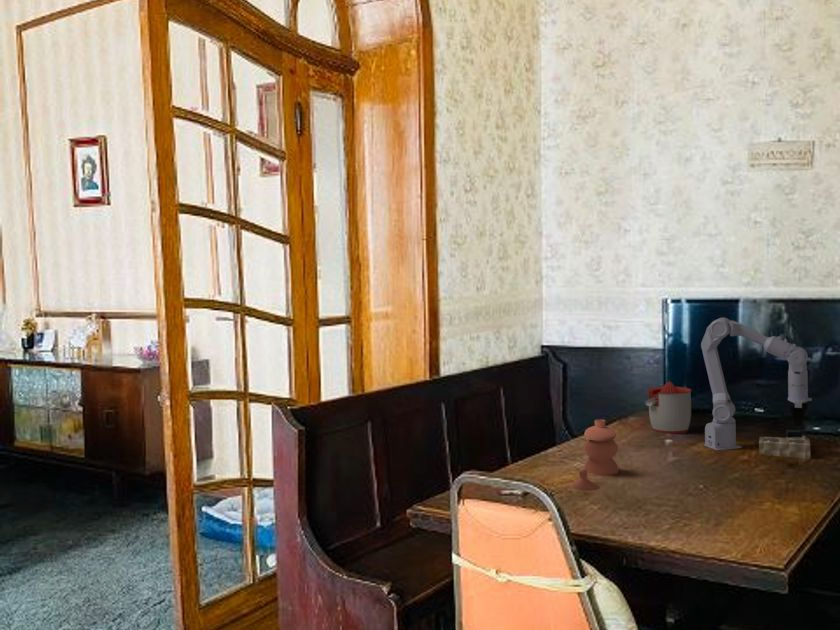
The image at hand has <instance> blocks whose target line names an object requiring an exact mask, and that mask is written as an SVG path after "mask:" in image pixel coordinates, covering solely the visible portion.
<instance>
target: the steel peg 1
mask: <svg viewBox="0 0 840 630" xmlns="http://www.w3.org/2000/svg"><path fill="white" fill-rule="evenodd" d="M765 441H771V442H778V440H777V439H765Z"/></svg>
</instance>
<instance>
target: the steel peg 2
mask: <svg viewBox="0 0 840 630" xmlns="http://www.w3.org/2000/svg"><path fill="white" fill-rule="evenodd" d="M790 443H804V441H800V440H791V441H790Z"/></svg>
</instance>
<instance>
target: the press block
mask: <svg viewBox="0 0 840 630" xmlns="http://www.w3.org/2000/svg"><path fill="white" fill-rule="evenodd" d="M765 439H777V440H778V442H771V441H765ZM791 440H800V441H804V443H790V441H791ZM810 440H811V439H809V438H808V439H798V438H786V437H779V436H778V437H776V436H759V441H758V450H759V451H758V455H761V454H764V455H763V456H771V455H773V456H772V457H774V456H775V457H783V458H785V457H786V458H794V459H795V458H796V459H805V460H806V459H807V460H810V459H811V442H810Z"/></svg>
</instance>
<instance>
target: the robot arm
mask: <svg viewBox="0 0 840 630" xmlns="http://www.w3.org/2000/svg"><path fill="white" fill-rule="evenodd" d="M728 335H729V336H730V337H742V338H745V339H747V340H749V341H752V342H753V343H755V344H758V345H760V346H761V347H762V346H763V348H764V351H765V352H767V353H768V354H770V355H772V356H774V357H777V358H779V359H780V360H783V361H787V362H788V371H787V375H788V376H787V383H788V384H787V385H788V387H787V391H788V392H787V395H788V397H787V401H789V402H791V403H788V408H789V409H790V412H791V415H792V420H793V424H794V427H802V426H803V424H804V417H805V415H806V414H805V413H806V411H807V409H808V407H809V405H808V403H807V402H811V401H813V400H812V399H813V398H812V397H809V394H808V393H809V391H808V390H809V389H808V388H809V387H808V386H809V385H808V384H809V381H808V378H809V377H808V375H809V374H808V373H809V371H808V370H807V369H808V365H807V364H808V360H809V359H808V358H809V357H808V353H807V350H805V349H804V348H803V347H802V346H797V344H795V343H790V342H787V341H785V340H784V339H783V337H782V336H779V335H778V336H775V335H773V336H769V337H768V336H766V335H764V334H762V333H760V332H758V331H756V330H754V329H752V328H750V327H749V326H746V325H744V324H743V323H740V322H737V321H736V320H733V319H731V320H730V318H729V319H728V318H726V317H719V318H717V319H714V320H713V321H712V322H711V323H710V324H709V325H708V326H707V327H706V330H705V333H704V335H703V338H702V339H701V343H700V347H701V350H702V356H703V360H704V364H705V368H706V372H707V377H708V381H709V386H710V390H711V392H712V405H713V409H712V417H713V419H712V421H711V422H709V423H706V425H705V427H704V444H703V446H705V447H708V448H710V449H713V450H715V451H725V450H726V451H728V450H737V449H742V445H741V446H740V445H738V444H737V443H736V442H737V439H736V438H737V433H736V431H737V430H736V427H737V426H736V419H735V418H734V415H735V412H736V406H735V404H734V402H732V400H731V396H730V394H729V392H728V389H727V384H726V382H725V381H726V380H725V376H724V372H723V368H722V364H721V359H720V355H719V352H718V351H719V350H718V346H719V344H720V343H721V342H722V341H723V339H725V337H727V336H728Z"/></svg>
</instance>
